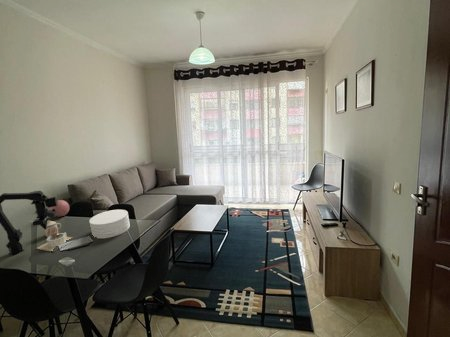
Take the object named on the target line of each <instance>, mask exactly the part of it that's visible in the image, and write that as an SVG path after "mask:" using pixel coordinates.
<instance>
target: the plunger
mask: <svg viewBox="0 0 450 337" xmlns="http://www.w3.org/2000/svg"><path fill="white" fill-rule="evenodd" d="M59 233H60V232H58V233H54V234H52V235H51V237H52V238H55V239H57V237H58V236H59V235H60V234H59Z"/></svg>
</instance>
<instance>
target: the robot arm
mask: <svg viewBox="0 0 450 337" xmlns="http://www.w3.org/2000/svg"><path fill="white" fill-rule="evenodd" d="M6 200H7V201H10V200H13V201H15V200H29V201H32V202H31V203H30V205H34V207H35V211H34V213H35V214H36V215H37V216H36V219H35V220H34V221H33V222H32V226H40V227H41V228H42V229H43V230H44V229H47V221H49V219H50V218H53V219H54V218H55V217H57V216H56V213H57V212H56V209H52V210H50V211H49V208H50V207H54V206H58V201H57V200H58V199H57V198H56V196H52V197H48V196H46V195H45V194H44V193H43V192H42V190H34V191H29V192H15V193H13V192H11V193H8V192H3V193H2V194H1V195H0V225H1V227H2V228H3V229H4V231H5V232H6V236H7V240H8V242H7V244H5V247H6V248H7V249H8V255H10V256H11V255H12V256H15V255H17V254H19V253H22V252H23V251H25V250H24V248H23V244H22V243H21V242H20V241H21V239H22V237H23V232H22V231H21V229H20V228H18V229H16V228H14V226H13V224H12V223H11V222H10V220H9V219H8V217H7V216H6V214H5V213H4V211H3V207H2V206H3V205H2V203H3V202H4V201H6Z"/></svg>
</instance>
